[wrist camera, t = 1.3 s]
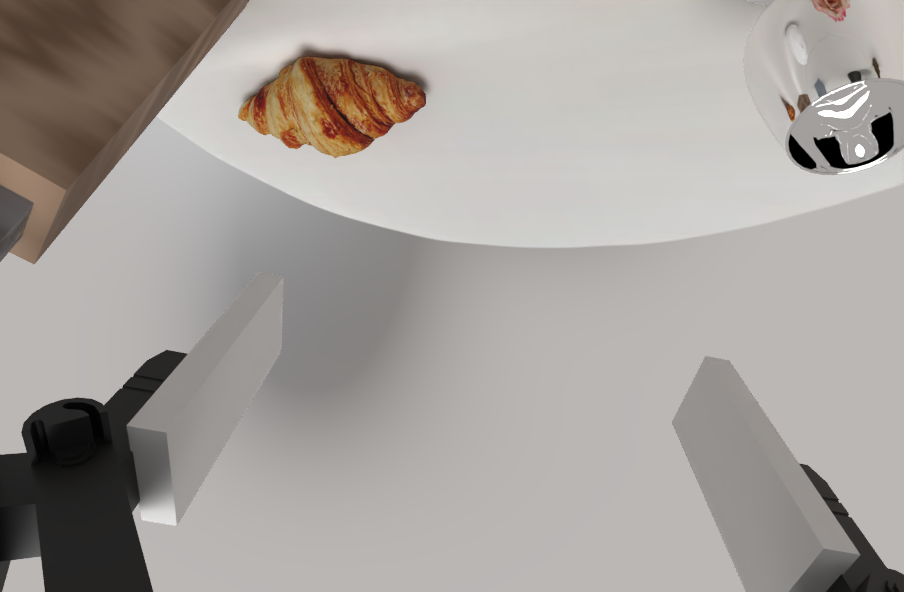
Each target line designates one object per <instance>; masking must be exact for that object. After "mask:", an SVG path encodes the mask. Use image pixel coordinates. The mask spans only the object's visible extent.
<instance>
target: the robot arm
mask: <svg viewBox="0 0 904 592" xmlns="http://www.w3.org/2000/svg"><path fill="white" fill-rule="evenodd" d="M282 308H283V277H281V276H276V275H271V274H265V273H260V272H258V273H257V274H256V275H255V276H254V278H253V279H252V280H251V281H250V282H249V283H248V285H247V286H246V287H245V288H244V289H243V290H242V292H241V293H240V294H239V295H238V296H237V297H236V299H235V300H234V301H233V302H232V303H231V304H230V306H229V307H228V308H227V309H226V310H225V311H224V313H223V314H222V315H221V316H220V317H219V319H218V320H217V321H216V322H215V323H214V324H213V325H212V327H211V328H210V329H209V330H208V331H207V332H206V334H205V335H204V336H203V337H202V338H201V339H200V340H199V342H198V343H197V344H196V345H195V346H194V347H193V349H192V350H191V351H190V352H189V353H188V354H185V353H180V352H175V351H169V350H166V351H164V352H162V353H160V354H158V355H156V356H155V357H153V358H151V359H149V360H147V361H146V362H145V363H144V364H143V365H142V366H141V367H140V369H138V371H136V372H135V374H134V376H133V377H131V378H130V379H129V380H128V381H127V382H126V383H125V384H124V385H123V388H122V389H119V390H118V391H117V392H116V393H115V394H114V396H113V397H112V398H111V399H110V400H109V401H108V402H107V403H106V404H105V405H103V404H102V403H100V402H97V401H95V400H93V399H86V398H72V399H64V400H60V401H57V402H54V403H51V404H48V405H46V406H44V407H42V408H41V409H39V410H37V411H36V412H34V413H33V414H32V415H31V416H30V417H29V418H28V419H27V420H26V421H25V422H24V424H23V428H22V437H23V440H24V443H25V446H26V450H27V453H18V454H5V455H0V592H2V589H3V586H4V582H5V579H6V575H7V572H8V568H9V564H10V561H11V560H16V559H24V558H31V557H39V556H41V560H42V569H43V577H44V586H45V592H153V589H152V586H151V582H150V578H149V575H148V571H147V567H146V563H145V560H144V556H143V552H142V549H141V545H140V541H139V537H138V534H137V530H136V526H135V522H134V519H133V515H132V512H133V510H134V509H135V507H136V506H137V504H138V503H139V508H140V513H141V520H144V521H150V522H156V523H162V524H168V525H173V526H177V525H178V523H179V522H180V520H181V518H182V517H183V515H184V513H185V512H186V510H187V508H188V507H189V505H190V503H191V502H192V500H193V498H194V497H195V495H196V493H197V492H198V490H199V488H200V487H201V485H202V483H203V481H204V480H205V478H206V476H207V475H208V473H209V471H210V469H211V468H212V466H213V465H214V463H215V461H216V460H217V458H218V456H219V455H220V453H221V451H222V450H223V448H224V446H225V445H226V443H227V441H228V440H229V438H230V436H231V434H232V433H233V431H234V430H235V428H236V426H237V424H238V423H239V421H240V419H241V418H242V416H243V414H244V413H245V411H246V409H247V408H248V406H249V404H250V403H251V401H252V399H253V397H254V396H255V394H256V393H257V391H258V389H259V387H260V386H261V384H262V383H263V381H264V379H265V377H266V376H267V374H268V372H269V371H270V369H271V367H272V366H273V364H274V362H275V361H276V359H277V357H278V356H279V354H280V352H281V345H282V344H281V343H282V310H283V309H282ZM672 424H673V426H674V429H675V430H676V433H677V435H678V438H679V440H680V442H681V444H682V447H683V449H684V451H685V453H686V456H687V458H688V461H689V463H690V465H691V467H692V470H693V472H694V474H695V477H696V479H697V481H698V483H699V486H700V488H701V490H702V492H703V494H704V497H705V499H706V502H707V504H708V506H709V509H710V511H711V513H712V515H713V518H714V520H715V522H716V524H717V527H718V529H719V531H720V534H721V536H722V538H723V540H724V542H725V545H726V547H727V550H728V552H729V554H730V556H731V559H732V561H733V563H734V566H735V568H736V570H737V572H738V575H739V577H740V579H741V582H742V584H743V586H744V588H745V591H746V592H904V575H903V574H901V573H899V572H897V571H896V570H892V569H888V568H887V567H886V566H885V565H884V564H883V562H882V560H881V559H880V558H879V556H878V555H877V553H876V552H875V550H874V549H873V548H872V546H871V545H870V543H869V542H868V541H867V539H866V538H865V536H864V535H863V533H862V532H861V531H860V529H859V528H858V527H857V525H856V524H855V523H854V521H853V519H852V518H850V517H848V515H849V514H848V512H847V511H846V509H845V508H844V507H843V505H842V504H841V503H839V502H838V500H839V499H838V498H837V497H836V495H835V494H834V492H833V491H832V490H831V488H830V487H829V485H828V484H827V482H826V481H825V480H823V479H822V478H821V477H820V476H819V475H818V474H817V473H816V472H815V471H814V470H812V469H811V468H810V467H809V466H808V465H804V464H799V463H798V462H797V460H796V459H795V457H794V456H793V454H792V453H791V451H790V450H789V448H788V447H787V445H786V444H785V442H784V441H783V439H782V438H781V436H780V435H779V433H778V432H777V431H776V429H775V427H774V426H773V425H772V423H771V422H770V420H769V418H768V417H767V416H766V414H765V413H764V411H763V410H762V408H761V407H760V405H759V404H758V402H757V401H756V399H755V398H754V396H753V395H752V393H751V392H750V390H749V389H748V387H747V386H746V385H745V383H744V381H743V380H742V378H741V377H740V376H739V374H738V373H737V371H736V370H735V368H734V367H733V365H732V364H731V362H730V361H729V360H723V359H718V358H713V357H707V356H705V358H704V360H703V362H702V364H701V366H700V368H699V370H698V372H697V374H696V376H695V378H694V380H693V382H692V384H691V386H690V388H689V390H688V392H687V393H686V395H685V398H684V399H683V401H682V403H681V405H680V407H679V409H678V411H677V413H676V415H675V417H674V419H673V421H672Z"/></svg>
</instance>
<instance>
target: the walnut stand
mask: <svg viewBox="0 0 904 592" xmlns="http://www.w3.org/2000/svg"><path fill="white" fill-rule="evenodd" d="M248 2H249V0H0V185H2V186H4V187H5V188H7V189H9V190H11V191H13V192H15V193H17V194H18V195H20V196H22V197H24V198H26V199H28V200H29V201H31V202H33V203H34V204H33V207H32V210H31V213H30V216H29V219H28V221H27V224H26V227H25V230H24V233H23V236H22V237H21V239H20V240H19V241H18V242H17V243H16V244H15V246H14V247H13V248H12V249H11V250H10V251H9V252H10V253H13V254H15V255H16V256H18V257H21V258H23V259H25V260H27V261H29V262H31V263H33V264H35V263H36V262H37V261H38V259H39V258H40V257H41V256H42V254H43V253H44V252H45V251H46V250H47V248H48V247H49V246H50V245H51V243H52V242H53V241H54V240H55V239H56V237H57V236H58V235H59V234H60V232H61V231H62V230H63V229H64V228H65V226H66V225H67V224H68V222H69V221H70V220H71V219H72V218H73V217H74V215H75V214H76V213H77V212H78V210H79V209H80V208H81V207H82V206H83V204H84V203H85V202H86V201H87V199H88V198H89V197H90V196H91V194H92V193H93V192H94V191H95V190H96V188H97V187H98V186H99V185H100V184H101V182H102V181H103V180H104V179H105V178H106V176H107V175H108V174H109V173H110V171H111V170H112V169H113V168H114V167H115V165H116V164H117V163H118V162H119V160H120V159H121V158H122V157H123V156H124V154H125V153H126V152H127V151H128V150H129V148H130V147H131V146H132V145H133V143H134V142H135V141H136V140H137V138H138V137H139V136H140V135H141V134H142V132H143V131H144V130H145V129H146V127H147V126H148V125H149V124H150V123H151V121H152V120H153V119H154V118H155V117H156V115H157V114H158V113H159V112H160V110H161V109H162V108H163V107H164V106H165V104H166V103H167V102H168V101H169V100H170V98H171V97H172V96H173V95H174V93H175V92H176V91H177V90H178V89H179V87H180V86H181V85H182V84H183V82H184V81H185V80H186V79H187V78H188V76H189V75H190V74H191V73H192V71H193V70H194V69H195V68H196V67H197V65H198V64H199V63H200V62H201V60H202V59H203V58H204V57H205V56H206V54H207V53H208V52H209V51H210V49H211V48H212V47H213V46H214V45H215V43H216V42H217V41H218V40H219V39H220V37H221V36H222V35H223V34H224V32H225V31H226V30H227V29H228V28H229V26H230V25H231V24H232V23H233V21H234V20H235V19H236V18H237V17H238V15H239V14H240V13H241V12H242V10H243V9H244V8H245V6H246V5H247V3H248Z"/></svg>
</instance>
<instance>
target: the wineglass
mask: <svg viewBox="0 0 904 592" xmlns="http://www.w3.org/2000/svg"><path fill="white" fill-rule="evenodd" d="M746 1H749V2H751V3H755V4H760V5H767V6H766V7H765V9H764V10H763V11H762V12H761V14H760V15H759V17H758V18H757V20H756V22H755V24H754V26H753V27H752V30H751V32H750V34H749V37H748V40H747V43H746V46H745V50H744V59H743V62H744V75H745V81H746V84H747V88H748V91H749V93H750V96H751V98H752V100H753V103H754V105H755V107H756V109H757V111H758V113H759V114H760V116H761V118H762V119H763V121H764V122H765V124H766V126H767V127H768V129H769V130H770V132H771V133H772V135H773V136H774V138H775V139H776V140H777V142H778V143H779V145H780V146H781V147H782V149H783V150H784V151H785V153H786V154H787V156H788V157H789V158H790V159H791V161H792V162H793V163H794V164H795V165H797V166H798V167H800V168H801V169H803V170H806V171H809V172H811V173H817V174H823V175H837V174H847V173H852V172H856V171H860V170H863V169H866V168H869V167H872V166H874V165H877V164H879V163H881V162H883V161H885V160H887V159H889V158H890V157H892V156H894V155H895V154H897V153H898V152H899V151H901V150H902V149H903V148H904V0H746Z"/></svg>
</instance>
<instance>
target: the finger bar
mask: <svg viewBox="0 0 904 592" xmlns="http://www.w3.org/2000/svg"><path fill="white" fill-rule="evenodd" d="M33 204H34V203H33V202H31V201H29V200H28V199H26V198H24V197H22V196H20V195H18V194H17V193H15V192H13V191H11V190H9V189H7V188H5V187H4V186H2V185H0V262H1V260H2V259H3V258H4V257H5V256H6V255H7V253H8V252H9V251H10V250H11V249H12V248H13V247H14V246H15V244H16V243H17V242H18V241H19V240H20V239H21V237H22V236H23V233H24V230H25V227H26V224H27V221H28V219H29V216H30V213H31V210H32V207H33Z"/></svg>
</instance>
